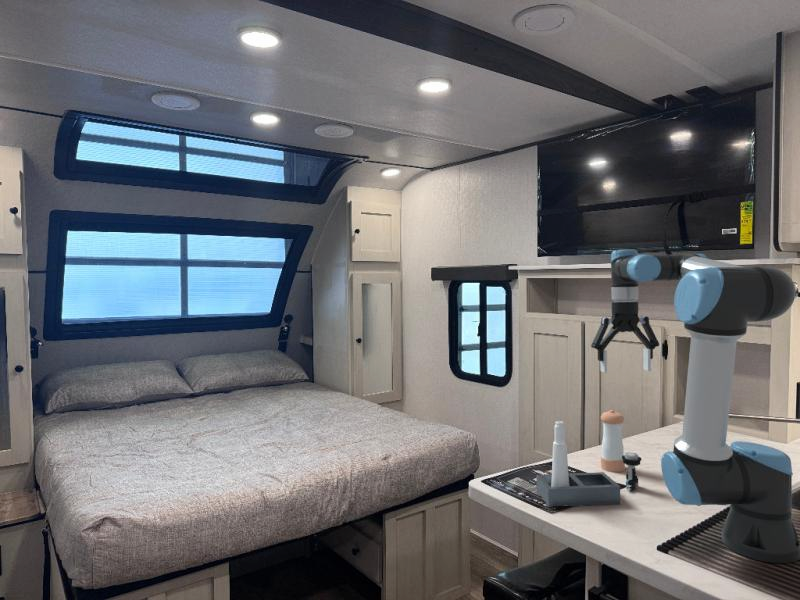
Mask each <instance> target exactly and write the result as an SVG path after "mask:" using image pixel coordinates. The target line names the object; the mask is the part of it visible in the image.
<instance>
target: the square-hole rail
mask: <svg viewBox="0 0 800 600" xmlns="http://www.w3.org/2000/svg"><path fill="white" fill-rule="evenodd" d="M568 475H569V485H570V486H568V487H551V482H552V473H550V474H536V477H535V478H536V493H537V492H538V493H539V494H538V493H537V494H538V496H541V497H542V498H541V497H540V498H541V499H542V500H544V501H545V502H546V503H545V502H544V501H543V502H544V503H545V505H546V504H547V505H548V506H547V505H546V506H547V507H548V508H554V507H553V506H562V505H570V506H572V507H592V506H593V507H594V506H614V505H615V506H616V505H621V485H619V484H618V483H617V482H616V481H615V480H613V479H612V478H611V477H610V476H609V475H608V474H606V473H605V472H604V471H603V472H601V471H600V472H598V471H597V472H577V473H576V472H575V473H574V472H573V473H568Z"/></svg>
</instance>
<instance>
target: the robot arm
mask: <svg viewBox="0 0 800 600" xmlns="http://www.w3.org/2000/svg"><path fill="white" fill-rule="evenodd" d="M610 254H611V256H610V272H611V273H610V275H611V277H610V279H611V285H610V287H611V288H610V289H611V300H612V302H611V318H610V317H609V318H608V317H604V316H603V317H601V321H600V322H601V323H600V326H599V327H598V330H597V332H596V335H595V336H594V338H593V340H592V343H591V344H590V347H591V349H595V350H597V361H599V363H600V372H602V373H606V374H607V373H608V356H607V355H608V352H607V350H606V348H607V347H608V345H609V344H610V343H611V341H612V340H613V339H614V338H615V336H616V335H617V334H619V333H625V332H628V333H633V334H634V335H635V336H636V337H637V339H639V341H640V342H641V343H642V344H643V345H644V347H643V349H642V353H643V355H642V356H643V358H642V360H643V361H642V362H643V365H642V366H643V368H642V369H643V370H645V371H647V372H650V371H651V369H652V368H651V367H652V366H651V360H653V359H654V349H656V347H660V343H659V341H658V339H657V337H656V334H655V332H654V330H653V329H652V326H651V324H650V319H649V316H645V315H641V316H639V302H638V301H637V300H639V283H648V282H670V281H673V282H675V281H676V282H678V281H679V282H678V284H677V286H676V289H675V292H674V299H673V301H674V302H673V303H674V304H673V305H674V308H675V315H676V317H677V318H678V320H679V321H680V322H682V323H684V326H683V327H684V330H686V332H687V333H688V335H690V343H689V344H690V345H689V357H688V367H687V375H686V376H687V379H686V390H685V398H684V399H685V400H684V411H683V413H684V414H683V423H682V434H681V435H680V436H677V437H676V438H675V439H674V440H673V441H674V442H673V451H669V450H668V451H667V452H664V453H663V454H662V455H661V460H660V463H661V464H660V466H661V467H660V468H661V472H662V477H663V480H664V484H665V486H666V488H667V489H668V492H669V493H670V496H672V498H673V499H674V500H675V501H676V502H678V503H679V504H682V505H685V506H697V507H701V506H710V505H711V506H715V505H717V506H718V505H719V506H720V505H730V508H729V511H728V513H727V516H726V518H725V519H726V520H725V521H724V525H723V526H722V529H721V541H722V542H723V544H724V545H725V546H726V548H728V549H730V550H731V551H733V552H734V553H737V554H739V555H741V556H744V557H747V558H749V559H752V560H755V561H759V562H760V561H761V562H766V563H773V564H789V563H795V562H797V561H798V560H800V539H799V536H798V533H797V530H796V527H795V525H794V522H793V519H792V518H793V516H792V512H793V511H792V510H793V509H792V508H793V507H792V505H793V504H792V501H793V500H792V499H793V498H792V495H793V494H792V492H793V491H792V489H793V488H792V485H793V484H792V482H793V479H792V477H793V474H794V473H793V468H792V467H793V466H792V461H791V457H790V456H789V455H788V454H787V453H785V452H784V451H782V450H780V449H777V448H775V447H772V446H768V445H764V444H761V443H755V442H751V441H742V440H738V441H737V440H735V441H733V442H732V441H731V442H730V445H729V444H727V437H728V427H729V419H730V418H729V417H730V410H731V409H730V407H731V399H732V398H731V397H732V389H733V388H732V387H733V381H734V372H735V369H734V368H735V361H736V351H737V344H738V343H737V342H738V340H740V339H741V338H742V337H745V336H746V334H747V329H748V323H751V322H752V323H753V322H755V323H757V322H767V321H771V320H774V319H776V318H779V317H780V316H782V315H784V314H785V313H787V311H788V310H790V308H791V307H792V305H793V304H794V302H795V300H796V296H797V295H796V294H797V293H796V291H797V290H796V286H795V283H794V281H793V279H792V278H791V276H790V275H788V274H787V273H786V272H784V271H783V270H781V269H779V268H775V267H770V266H763V265H754V266H742V265H736V264H732V263H728V262H724V261H719V260H715V259H710V258H708V257H707V256H706V255H705V254H703V253H694V252H693V253H675V254H673V253H672V254H666V253H664V254H649V253H648V254H647V253H646V254H645V253H644V254H643V253H641V254H639V251H638V250H636V249H615V250H613V251H612V252H611V253H610ZM639 323H640V324H641V326H642V328H643V330H644V332H645V334H646V335H645V334H644V333H643V332H642V330H641V328H640V327H639V326H638V324H639ZM610 324H612V326H611V327H610V329H609V331H608V333H607V334H606V332H607V330H608V327H609V326H610ZM605 334H606V335H605Z"/></svg>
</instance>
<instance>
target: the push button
mask: <svg viewBox="0 0 800 600" xmlns="http://www.w3.org/2000/svg"><path fill="white" fill-rule="evenodd" d="M622 459H623V463H624V464H625V465H626V466H627V472H626V474H625V479H626V481H625V487H626V491H634V490H635V489H636V490H637V489H638V488H639V477H638V475H637V472H636V467H637V466H640V465H641V462H642V458H641V457H640V456H639V454H638V453H635V452H625V453H624V454H623V456H622Z"/></svg>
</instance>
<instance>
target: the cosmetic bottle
mask: <svg viewBox="0 0 800 600" xmlns="http://www.w3.org/2000/svg"><path fill="white" fill-rule="evenodd" d="M564 423H565V422H563V421H561V420H557V421H555V425H554V441H553V442H552V463H551V464H552V467H551V474H552V482H551V487H568V486H570V485H569V475H568V474H569V463H568V462H569V461H568V460H569V459H568V449H567V448H568V447H567V442H566V439H565V438H566V436H565V434H566V428H565V425H564Z"/></svg>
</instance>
